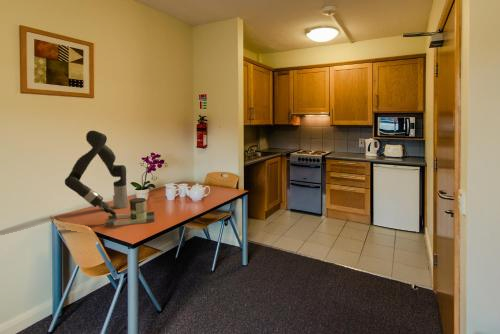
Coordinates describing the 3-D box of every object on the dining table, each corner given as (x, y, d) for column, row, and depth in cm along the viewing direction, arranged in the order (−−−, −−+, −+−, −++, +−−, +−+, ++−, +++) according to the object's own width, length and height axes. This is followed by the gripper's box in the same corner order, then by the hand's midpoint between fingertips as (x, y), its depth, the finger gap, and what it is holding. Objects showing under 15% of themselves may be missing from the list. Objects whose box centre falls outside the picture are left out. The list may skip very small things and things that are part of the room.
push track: (105, 226, 191) (105, 222, 190) (108, 219, 206) (108, 215, 205) (154, 221, 200) (154, 218, 199) (154, 214, 215) (154, 211, 214)
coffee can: (128, 222, 199) (127, 201, 197) (133, 217, 209) (132, 198, 207) (144, 221, 199) (143, 201, 197) (148, 217, 209) (147, 197, 207)
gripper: (95, 196, 188) (118, 213, 193) (99, 191, 200) (120, 207, 206) (87, 205, 187) (109, 221, 192) (91, 200, 199) (112, 216, 205)
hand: (115, 214), depth 199 cm, fingers closed
